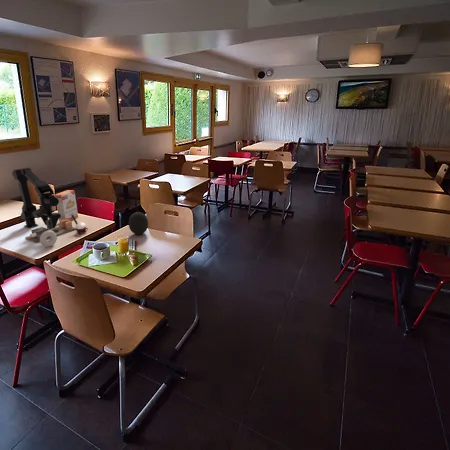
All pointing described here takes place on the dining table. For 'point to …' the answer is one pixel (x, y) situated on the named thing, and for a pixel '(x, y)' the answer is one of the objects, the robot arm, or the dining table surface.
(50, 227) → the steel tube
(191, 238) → the dining table surface
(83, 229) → the cocoa
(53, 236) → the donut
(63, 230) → the base board
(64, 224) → the socket block
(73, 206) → the cracker box
